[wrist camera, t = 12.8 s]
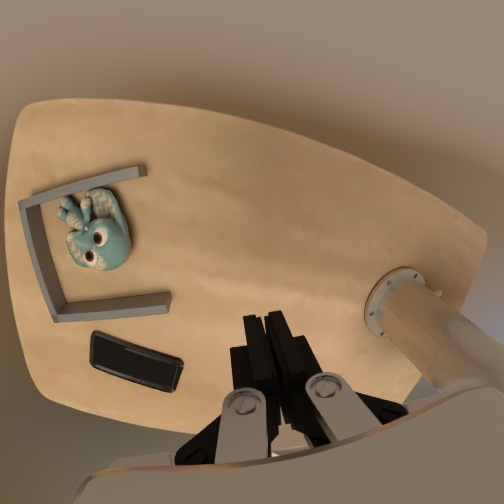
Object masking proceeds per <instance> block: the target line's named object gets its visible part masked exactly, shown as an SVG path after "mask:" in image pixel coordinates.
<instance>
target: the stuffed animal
mask: <svg viewBox="0 0 504 504" xmlns="http://www.w3.org/2000/svg"><path fill="white" fill-rule="evenodd" d="M60 204H61V207H59V208H58V209H57V211H56V216H57V217H58V218H59V219H60V220H63V221H65V222H66V224H67V225H68V226H69V227H72V228H75V229H77V230H78V231H71V232H68V233H67V234H66V242H67V245H68V249H69V252H70V255H71V256H72V258H73V259H74V261H75V262H76V264H78V265H80V266H82V267H91V268H95V269H97V270H99V271H107V270H113V269H116V268H118V267H119V266H121V265H122V264H123V263H125V262H126V261H127V259H128V257H129V255H130V253H131V241H130V236H129V233H128V225H127V223H126V220H125V218H124V216H123V214H122V213H121V210H120V207H119V204H118V201H117V200H116V198H115V197H114V195H113V194H112V192H111V191H109V190H105V189H101V188H99V189H94V190H90V191H88V192H87V193H85V198H83V199H82V200H81V205H80V206H81V208H79V207H77V206H75V205H74V203H73V201H72V199H71V198H69V197H68V196H64V197H63V198H62V199H61V201H60ZM66 209H67V210H68V213H67V211H66ZM91 210H92V212H93V213H94V214H95V215H96V216H97V217H98V219H95V220H93V221H92V222H90V213H91Z"/></svg>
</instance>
